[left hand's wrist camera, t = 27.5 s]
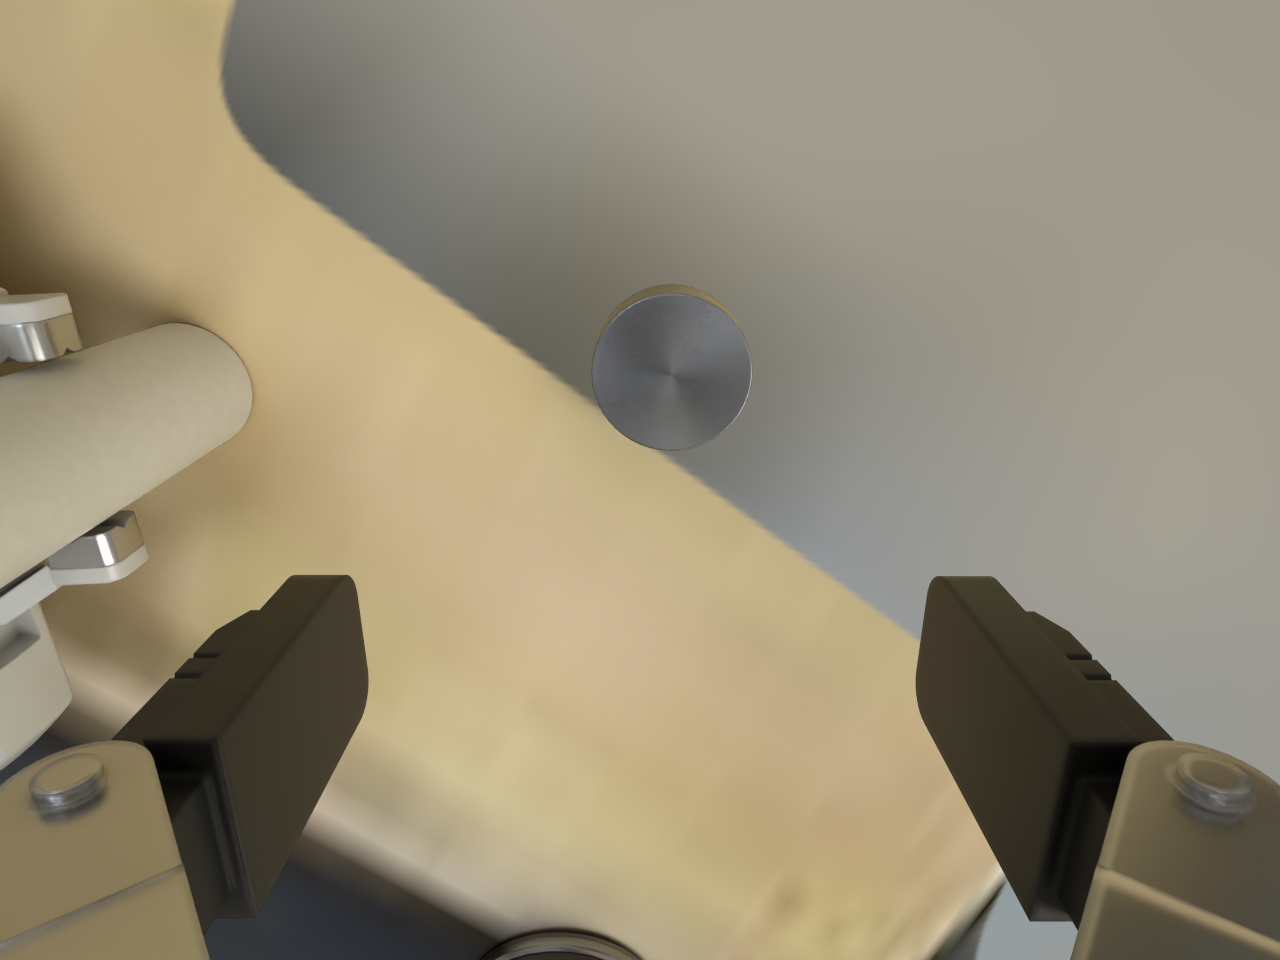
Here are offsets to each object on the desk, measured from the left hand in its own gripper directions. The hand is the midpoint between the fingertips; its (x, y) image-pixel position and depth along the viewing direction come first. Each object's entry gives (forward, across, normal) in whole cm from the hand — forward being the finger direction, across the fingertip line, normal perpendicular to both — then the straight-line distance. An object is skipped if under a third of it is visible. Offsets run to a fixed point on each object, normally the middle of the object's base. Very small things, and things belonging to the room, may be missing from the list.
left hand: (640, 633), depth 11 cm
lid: (+15, -1, 0) cm, 15 cm away
